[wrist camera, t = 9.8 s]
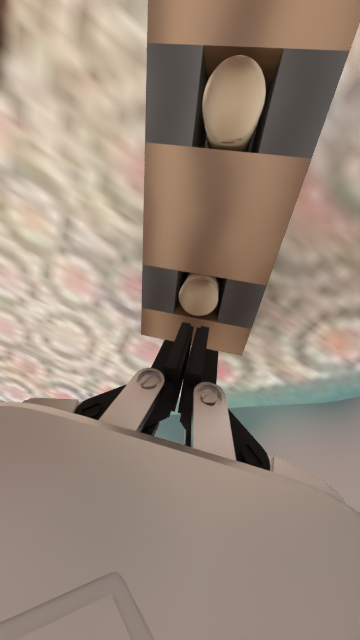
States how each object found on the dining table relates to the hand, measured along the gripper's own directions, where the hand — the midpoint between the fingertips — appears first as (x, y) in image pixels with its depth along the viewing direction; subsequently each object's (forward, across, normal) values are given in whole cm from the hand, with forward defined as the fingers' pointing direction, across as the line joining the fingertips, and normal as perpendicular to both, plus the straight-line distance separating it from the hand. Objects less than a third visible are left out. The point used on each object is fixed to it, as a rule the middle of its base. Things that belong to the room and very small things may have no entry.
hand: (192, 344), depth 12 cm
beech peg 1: (+17, +1, +1) cm, 17 cm away
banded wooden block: (+17, +1, -6) cm, 18 cm away
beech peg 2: (+17, +1, -13) cm, 22 cm away
